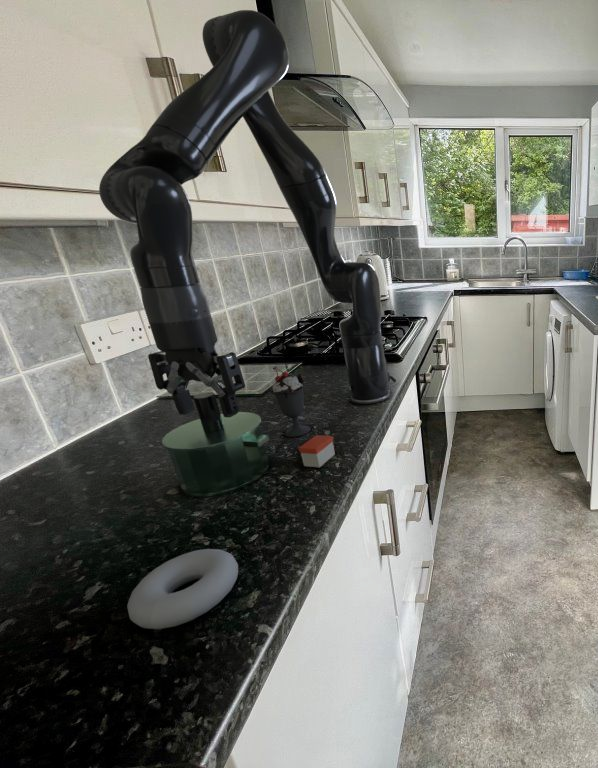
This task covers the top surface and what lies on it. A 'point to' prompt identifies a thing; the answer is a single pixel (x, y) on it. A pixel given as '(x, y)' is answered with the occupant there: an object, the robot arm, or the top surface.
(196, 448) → the lid
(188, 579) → the donut
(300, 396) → the sundae
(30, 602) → the top surface
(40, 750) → the top surface
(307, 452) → the block
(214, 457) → the pot
